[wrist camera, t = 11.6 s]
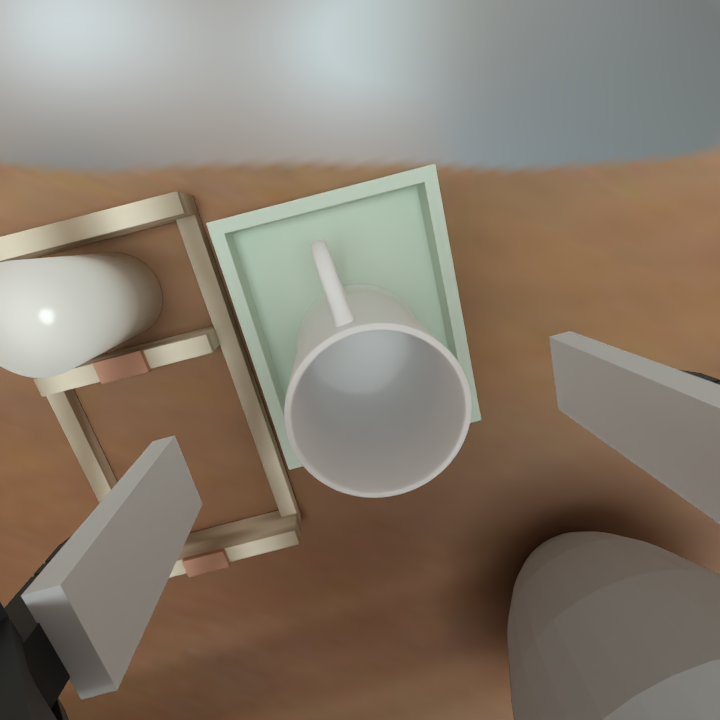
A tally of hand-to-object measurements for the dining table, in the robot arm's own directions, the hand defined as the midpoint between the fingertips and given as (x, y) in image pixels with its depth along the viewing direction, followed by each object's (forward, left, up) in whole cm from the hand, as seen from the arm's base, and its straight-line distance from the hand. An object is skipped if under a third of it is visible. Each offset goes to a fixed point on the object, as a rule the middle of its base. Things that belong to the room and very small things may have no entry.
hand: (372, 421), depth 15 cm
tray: (0, 0, -16) cm, 16 cm away
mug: (0, 0, -16) cm, 16 cm away
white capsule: (-14, +6, -16) cm, 22 cm away
